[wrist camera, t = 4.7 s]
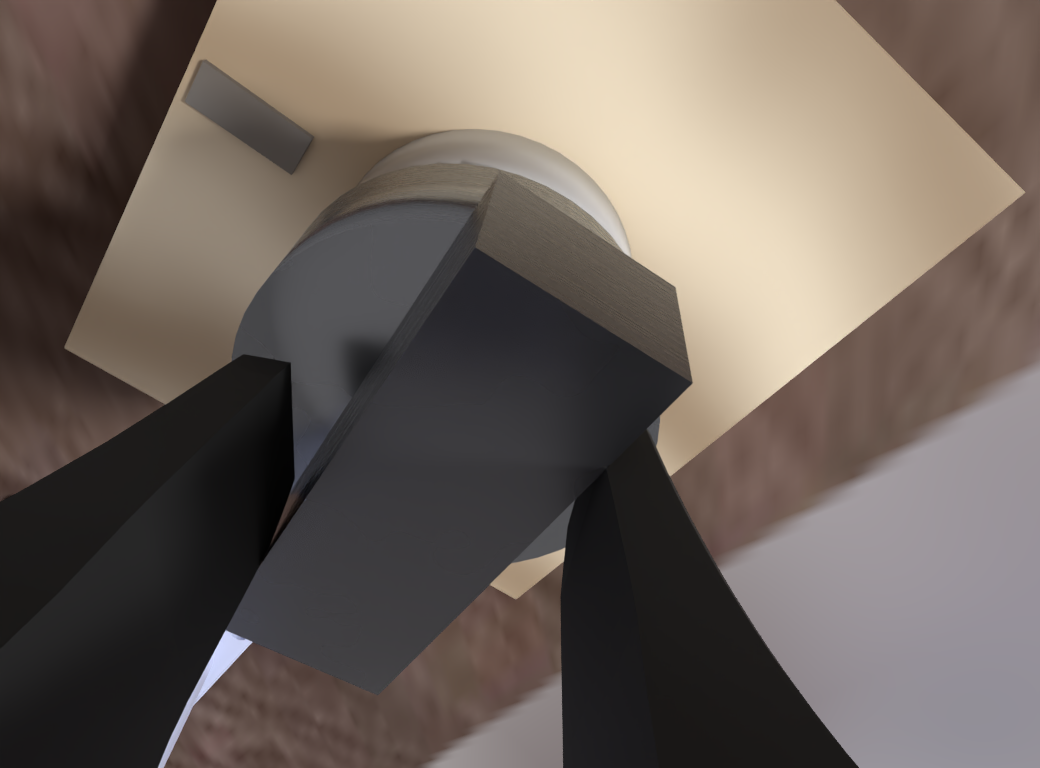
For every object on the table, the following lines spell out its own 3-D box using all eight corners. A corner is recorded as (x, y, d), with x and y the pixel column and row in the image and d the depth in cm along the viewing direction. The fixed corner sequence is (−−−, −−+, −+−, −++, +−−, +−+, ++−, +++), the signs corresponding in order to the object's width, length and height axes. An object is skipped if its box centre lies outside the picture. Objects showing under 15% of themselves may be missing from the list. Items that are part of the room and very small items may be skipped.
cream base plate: (522, 541, 21) (508, 667, 18) (114, 302, 17) (2, 404, 14) (974, 152, 14) (1091, 244, 10) (438, -386, 10) (362, -501, 7)
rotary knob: (756, 285, 11) (824, 464, 8) (474, 574, 15) (441, 768, 12) (400, 39, 9) (296, 135, 6) (198, 438, 14) (74, 618, 10)
